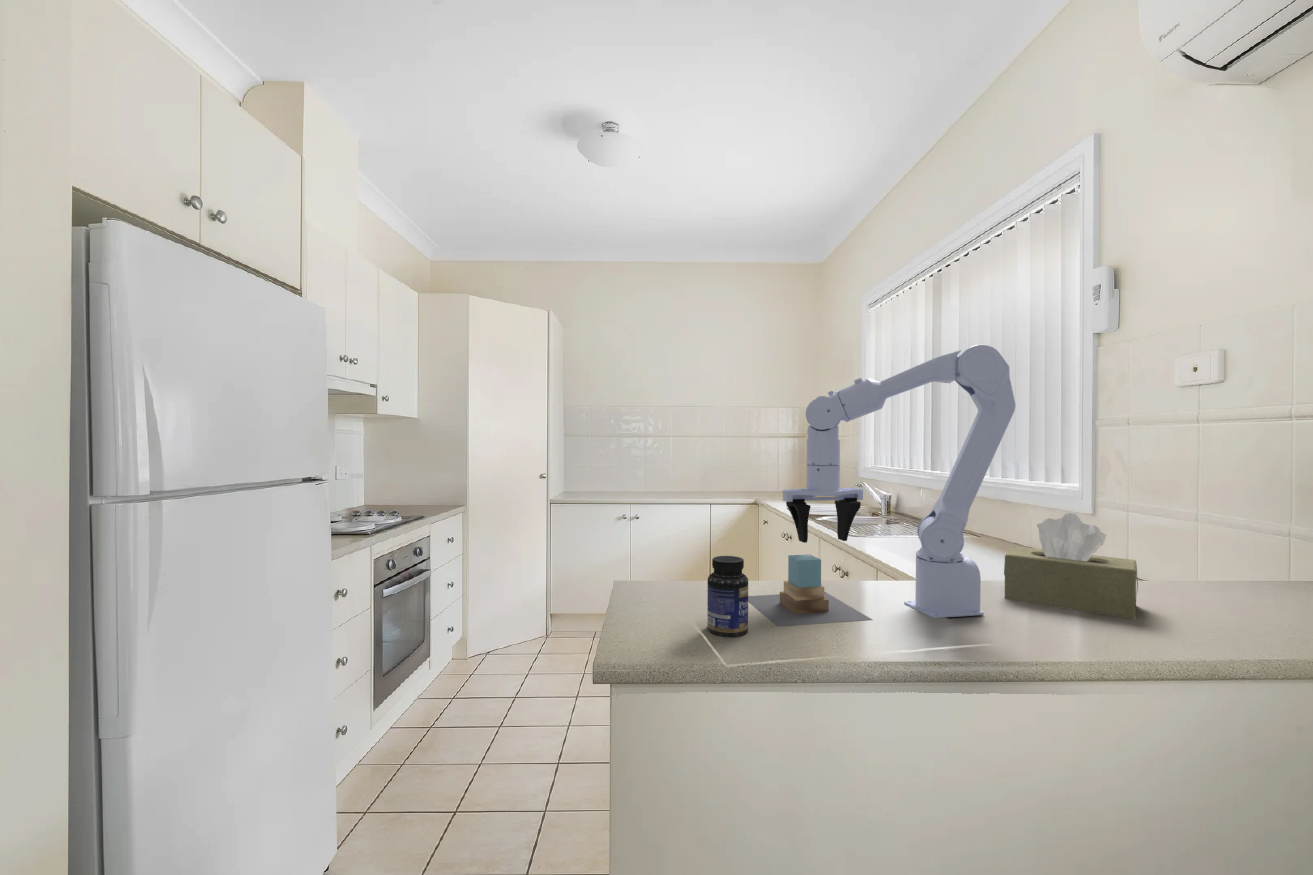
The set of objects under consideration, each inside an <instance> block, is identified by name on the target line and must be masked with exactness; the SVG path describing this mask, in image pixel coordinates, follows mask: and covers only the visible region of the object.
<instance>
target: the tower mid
mask: <svg viewBox="0 0 1313 875" xmlns="http://www.w3.org/2000/svg"><path fill="white" fill-rule="evenodd" d="M783 591H784V593H786V594H787V595H788V596H790V597H791V598H793V599H794V600H796V601H800V600H817V599H824V592H825V586H824V585H822V584H821V587H807V588H798V587H796V586H795V585H793V584H791V583H790V582H788V580H783Z"/></svg>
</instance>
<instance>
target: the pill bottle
mask: <svg viewBox="0 0 1313 875" xmlns="http://www.w3.org/2000/svg"><path fill="white" fill-rule="evenodd" d="M711 560H712V562H711V564H712V569H713V572H711V573H710V574H709V575H708V577H707V615H706V616H707V626H706V628H707V630H708V632H709V633H710V634H712V635H715V636H717V637H725V638H737V637H742V636H744V635H747V633H748V632H749V602H748V596H749V578H748V577H747V575H746V574H745V573H743V569H744V566H745V562H744V561H745V560H744V558H742V557H740V556H735V555H720V556H719V555H718V556H715V557H713V558H712V559H711Z"/></svg>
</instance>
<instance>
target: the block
mask: <svg viewBox="0 0 1313 875" xmlns="http://www.w3.org/2000/svg"><path fill="white" fill-rule="evenodd" d="M787 557H788V562H787V563H788V565H787V566H788V567H787V573H788V574H787V576H788V577H787V578H788V580H787V581H788V582H790V583H791V584H793V585H795V586H796V587H798V588H807V587H821V585H822V559H821V558H819V557H816V556H814V555H812V554H809V553H808V554H793V555H788V556H787Z"/></svg>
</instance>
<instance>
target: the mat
mask: <svg viewBox="0 0 1313 875" xmlns="http://www.w3.org/2000/svg"><path fill="white" fill-rule="evenodd" d="M824 597H825V598H827V599H828V600H829V612H818V613H802V614H794V613H792V612H791V611H790V610H788V609H787V608H786V607H784V606H783V605H782V604H780V593H779V594H763V595H761V594H759V595H748V604H750V605H751V606H753V607H754V608H755V609H757V611H759V613H761V614H762V615H763V616H765V617H766V618H767V619H768V620H769V621H771V622H772V623H773V624H774V625H775V626H776V627H778V628H779V627H790V626H791V627H792V626H803V625H804V626H805V625H820V624H833V623H834V624H835V623H848V622H850V623H851V622H862V621H863V622H865V621H866V622H867V621H874V619H872V618H871V617H869V616H867V615H866V614H865V613H862V612H860V611H859V610H857V609H856V608H854V607H852V606H850V605H849V604H847V603H845V602H844V601H841V600H840V599H837V598H836V597H835V596H834V595H831V594H830V593H828V592H826V591H824Z"/></svg>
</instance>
